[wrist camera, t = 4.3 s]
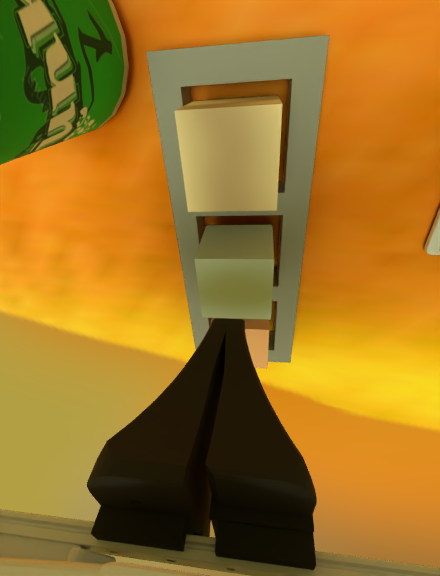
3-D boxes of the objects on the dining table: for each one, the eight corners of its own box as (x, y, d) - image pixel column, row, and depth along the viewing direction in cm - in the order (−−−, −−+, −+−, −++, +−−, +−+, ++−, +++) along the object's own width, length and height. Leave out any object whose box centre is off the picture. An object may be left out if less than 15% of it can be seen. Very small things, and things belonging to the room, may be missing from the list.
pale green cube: (272, 224, 18) (274, 259, 14) (269, 279, 20) (271, 319, 17) (206, 225, 18) (194, 258, 15) (211, 278, 21) (202, 317, 17)
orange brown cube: (268, 293, 23) (269, 329, 20) (266, 330, 25) (267, 368, 22) (217, 292, 23) (210, 327, 20) (220, 328, 26) (214, 365, 23)
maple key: (277, 95, 14) (282, 103, 11) (274, 182, 16) (276, 210, 13) (194, 100, 14) (174, 110, 11) (202, 184, 17) (187, 212, 13)
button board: (321, 38, 14) (329, 34, 12) (288, 343, 26) (290, 362, 25) (159, 53, 15) (145, 51, 13) (201, 339, 28) (197, 357, 26)
